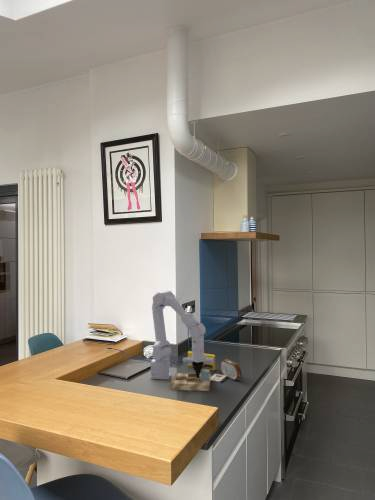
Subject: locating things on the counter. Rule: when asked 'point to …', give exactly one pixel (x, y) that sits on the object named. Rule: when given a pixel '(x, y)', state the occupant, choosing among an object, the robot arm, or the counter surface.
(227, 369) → the tin
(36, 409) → the counter surface
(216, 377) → the chocolate bar
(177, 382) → the board
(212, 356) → the candy box
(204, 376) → the block
